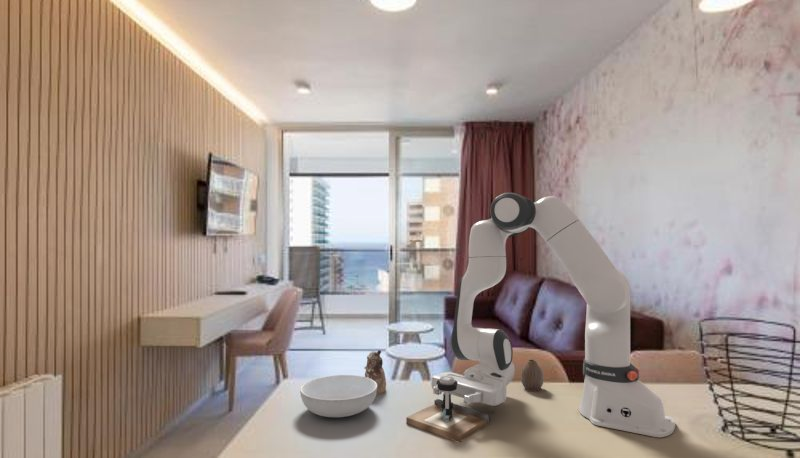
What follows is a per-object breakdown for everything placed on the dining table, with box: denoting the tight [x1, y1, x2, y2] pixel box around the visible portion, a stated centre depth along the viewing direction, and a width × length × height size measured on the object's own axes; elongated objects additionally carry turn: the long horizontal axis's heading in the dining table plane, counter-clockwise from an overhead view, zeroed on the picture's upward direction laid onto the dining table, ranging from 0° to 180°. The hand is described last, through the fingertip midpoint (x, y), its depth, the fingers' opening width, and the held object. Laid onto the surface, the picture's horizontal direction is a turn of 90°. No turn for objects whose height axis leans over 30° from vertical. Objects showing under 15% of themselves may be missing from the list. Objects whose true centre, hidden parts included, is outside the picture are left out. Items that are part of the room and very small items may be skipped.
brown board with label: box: [405, 398, 490, 443], centre depth 113 cm, size 16×14×2 cm
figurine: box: [364, 349, 387, 395], centre depth 138 cm, size 7×7×12 cm
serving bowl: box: [299, 374, 377, 418], centre depth 121 cm, size 21×21×7 cm
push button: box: [437, 376, 458, 422], centre depth 112 cm, size 7×5×10 cm
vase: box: [520, 359, 545, 392], centre depth 140 cm, size 7×7×9 cm
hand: (450, 395), depth 114 cm, fingers open, 8 cm apart
